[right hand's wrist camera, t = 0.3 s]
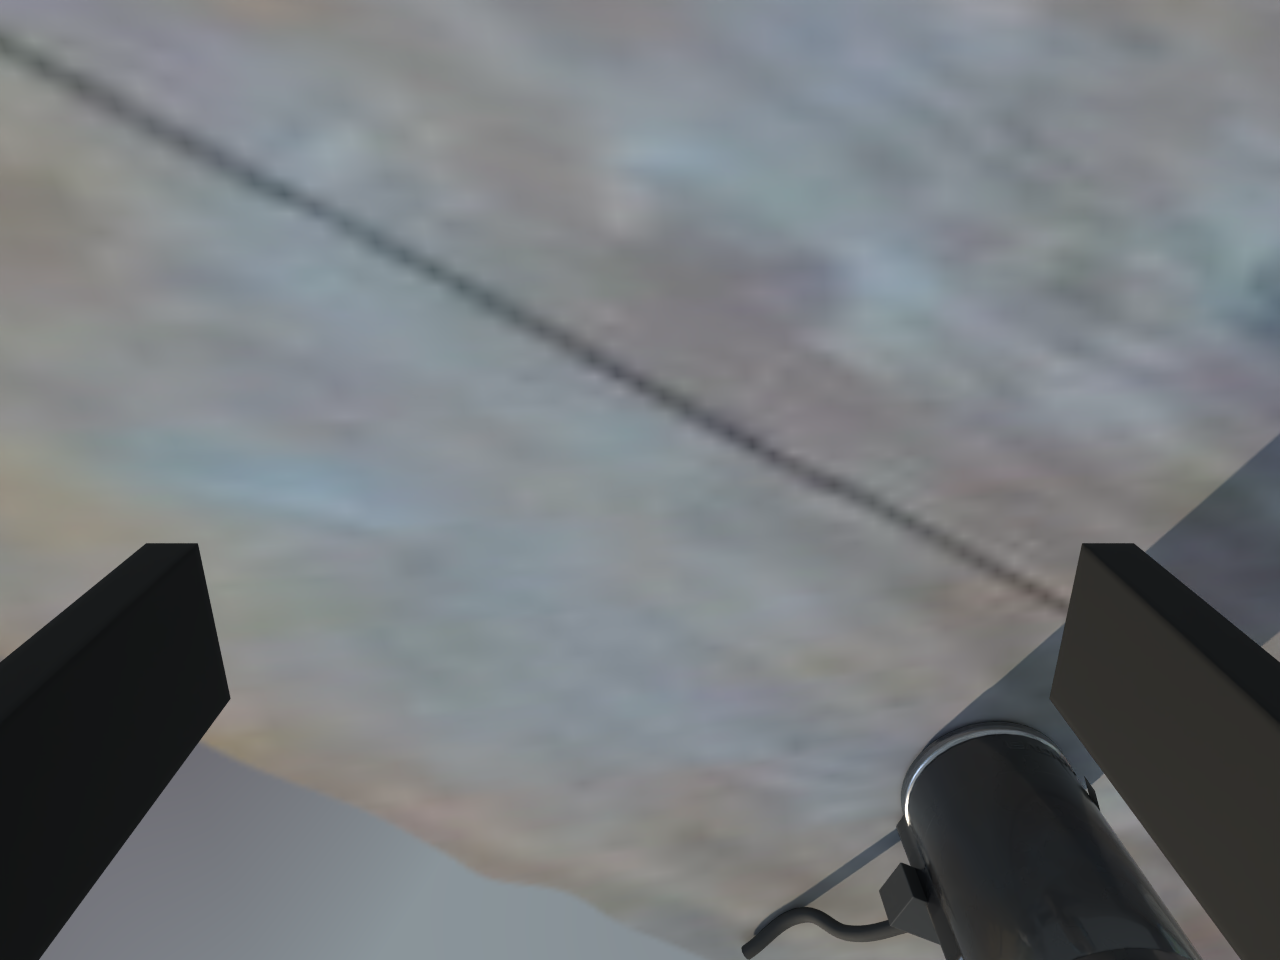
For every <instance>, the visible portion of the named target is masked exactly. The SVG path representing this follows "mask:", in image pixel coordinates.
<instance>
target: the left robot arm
mask: <svg viewBox="0 0 1280 960" xmlns="http://www.w3.org/2000/svg"><path fill="white" fill-rule="evenodd" d="M1084 777H1085V776H1084ZM1085 781H1086V785H1087V788H1088V792H1089V795H1088V793H1087V792H1086V790H1085V789H1084V787H1083V786H1082V784H1081V783H1080V781H1079V780H1078V779H1077V777H1076V774H1075V773H1074V771H1073V770H1072V768H1071V766H1070V764H1069V762H1068V761H1067V759H1066V758H1065V757H1064V755H1063V754H1062V752H1061V751H1060V749H1059V748H1058V747H1057V746H1056V744H1055V743H1054V742H1053V741H1052V740H1050V739H1049V738H1048V737H1047V736H1045V735H1044V734H1042V733H1041V732H1039V731H1037V730H1035V729H1033V728H1030V727H1027V726H1024V725H1020V724H1016V723H1010V722H984V723H977V724H973V725H968V726H965V727H962V728H959V729H957V730H954V731H952V732H950V733H948V734H946V735H944V736H942V737H940V738H939V739H937V740H936V741H934V742H933V743H932V744H930V745H929V746H928V747H927V748H925V749H924V750H923V751H922V752H921V753H920V754H919V755H918V757H917V758H916V759H915V760H914V762H913V763H912V765H911V766H910V768H909V770H908V772H907V774H906V776H905V779H904V781H903V785H902V791H901V805H902V810H903V814H904V815H903V817H902V819H901V820H900V822H899V823H898V824H897V826H896V828H897V831H898V834H899V836H900V839H901V842H902V844H903V847H904V849H905V852H906V855H907V857H908V860H909V863H910V865H911V866H909V865H906V864H904V863H900V864H899V865H898V867H897V868H896V869H895V871H894V872H893V873H892V874H891V876H890V877H889V878H888V880H887V881H886V882H885V884H884V885H883V886H882V887H881V889H880V890H879V892H880V895H881V899H882V902H883V905H884V908H885V911H886V914H887V917H888V920H886V921H883V922H879V923H875V924H870V925H862V926H852V925H844V924H842V923H840V922H838V921H836V920H835V919H833V918H832V917H830V916H829V915H827V914H826V913H824V912H822V911H820V910H817V909H814V908H810V907H801V908H796V909H793V910H790V911H787V912H785V913H783V914H782V915H780V916H778V917H777V918H776V919H774V920H773V921H772V922H771V923H769V924H768V925H767V926H766V927H765V928H764V929H763V930H762V931H761V932H759V933H758V934H757V935H756V936H755V937H754V938H753V939H751V940H750V941H749V942H748V943H746V944H745V945H743V946H742V952H743V954H744V956H745V957H746V958H747V959H749V960H750V959H751V958H753V957H754V956H755V955H757V954H758V953H759V952H760V951H762V950H763V949H764V948H765V947H766V946H767V945H768V944H769V943H771V942H772V941H773V940H774V939H775V938H776V937H777V936H778V935H780V934H781V933H782V932H784V931H785V930H786V929H788V928H790V927H792V926H794V925H797V924H800V923H805V922H810V923H814V924H816V925H818V926H819V927H821V928H822V929H824V930H825V931H826V932H828V933H829V934H831V935H833V936H835V937H837V938H839V939H842V940H846V941H852V942H870V941H877V940H882V939H886V938H889V937H893V936H897V935H900V934H904V933H910V934H913V935H916V936H918V937H921V938H924V939H926V940H929V941H932V942H934V943H937V944H940V945H941V948H942V950H943V953H944V956H945V958H946V960H1203V959H1202V958H1201V956H1200V955H1199V953H1198V952H1197V951H1196V949H1195V948H1194V946H1193V945H1192V943H1191V942H1190V940H1189V939H1188V938H1187V936H1186V935H1185V933H1184V932H1183V930H1182V929H1181V927H1180V926H1179V925H1178V923H1177V922H1176V920H1175V919H1174V917H1173V916H1172V914H1171V913H1170V912H1169V910H1168V909H1167V907H1166V906H1165V904H1164V903H1163V901H1162V900H1161V899H1160V897H1159V896H1158V894H1157V893H1156V891H1155V890H1154V888H1153V887H1152V886H1151V884H1150V883H1149V881H1148V880H1147V878H1146V877H1145V875H1144V874H1143V873H1142V871H1141V870H1140V868H1139V867H1138V865H1137V864H1136V862H1135V861H1134V860H1133V858H1132V857H1131V855H1130V854H1129V852H1128V851H1127V849H1126V848H1125V847H1124V845H1123V844H1122V842H1121V841H1120V839H1119V838H1118V836H1117V835H1116V834H1115V832H1114V831H1113V829H1112V828H1111V826H1110V825H1109V823H1108V822H1107V821H1106V819H1105V818H1104V816H1103V815H1102V813H1101V812H1100V809H1099V805H1098V801H1097V797H1096V793H1095V791H1094V789H1093V788H1092V786H1091V785H1090V783H1089V782H1088V781H1087V779H1086V778H1085Z"/></svg>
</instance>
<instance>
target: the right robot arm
mask: <svg viewBox="0 0 1280 960" xmlns="http://www.w3.org/2000/svg"><path fill="white" fill-rule="evenodd" d="M229 700H230V694H229V689H228V684H227V680H226V675H225V670H224V665H223V661H222V656H221V651H220V646H219V642H218V637H217V632H216V627H215V623H214V618H213V613H212V608H211V604H210V599H209V594H208V589H207V585H206V580H205V575H204V570H203V566H202V561H201V556H200V551H199V547H198V543H146V544H145V545H144V546H142V547H141V548H140V549H139V550H138V551H136V552H135V553H134V554H133V555H131V556H130V557H129V558H128V559H126V560H125V561H124V562H123V563H122V564H120V565H119V566H118V567H117V568H115V569H114V570H113V571H112V572H111V573H109V574H108V575H107V576H106V577H104V578H103V579H102V580H101V581H100V582H98V583H97V584H96V585H95V586H93V587H92V588H91V589H90V590H88V591H87V592H86V593H85V594H84V595H82V596H81V597H80V598H79V599H77V600H76V601H75V602H74V603H73V604H71V605H70V606H69V607H68V608H66V609H65V610H64V611H63V612H61V613H60V614H59V615H58V616H57V617H55V618H54V619H53V620H52V621H50V622H49V623H48V624H47V625H46V626H44V627H43V628H42V629H41V630H39V631H38V632H37V633H36V634H34V635H33V636H32V637H31V638H30V639H28V640H27V641H26V642H25V643H23V644H22V645H21V646H20V647H19V648H17V649H16V650H15V651H14V652H12V653H11V654H10V655H9V656H8V657H6V658H5V659H4V660H3V661H1V662H0V960H39V959H40V957H41V956H42V955H43V953H44V952H45V951H46V949H47V948H48V947H49V945H50V944H51V942H52V941H53V940H54V938H55V937H56V936H57V934H58V933H59V932H60V930H61V929H62V928H63V926H64V925H65V923H66V922H67V921H68V919H69V918H70V917H71V915H72V914H73V913H74V911H75V910H76V908H77V907H78V906H79V904H80V903H81V902H82V900H83V899H84V898H85V896H86V895H87V893H88V892H89V891H90V889H91V888H92V887H93V885H94V884H95V883H96V881H97V880H98V879H99V877H100V876H101V874H102V873H103V872H104V870H105V869H106V867H107V866H108V865H109V864H110V862H111V861H112V859H113V858H114V857H115V855H116V854H117V853H118V851H119V850H120V849H121V847H122V846H123V844H124V843H125V842H126V840H127V839H128V838H129V836H130V835H131V834H132V832H133V831H134V829H135V828H136V827H137V825H138V824H139V823H140V821H141V820H142V819H143V817H144V816H145V814H146V813H147V812H148V810H149V809H150V808H151V806H152V805H153V804H154V802H155V801H156V799H157V798H158V797H159V795H160V794H161V793H162V791H163V790H164V789H165V787H166V786H167V785H168V783H169V782H170V780H171V779H172V778H173V776H174V775H175V774H176V772H177V771H178V770H179V768H180V767H181V765H182V764H183V763H184V761H185V760H186V759H187V757H188V756H189V754H190V753H191V752H192V750H193V749H194V748H195V746H196V745H197V744H198V742H199V741H200V740H201V738H202V737H203V735H204V734H205V733H206V731H207V730H208V729H209V727H210V726H211V725H212V723H213V722H214V720H215V719H216V718H217V716H218V715H219V714H220V712H221V711H222V710H223V708H224V707H225V706H226V704H227V703H228V701H229ZM1050 700H1051V701H1052V703H1053V704H1054V706H1055V707H1056V708H1057V710H1058V711H1059V712H1060V714H1061V715H1062V716H1063V718H1064V719H1065V720H1066V722H1067V723H1068V725H1069V726H1070V727H1071V729H1072V730H1073V731H1074V733H1075V734H1076V735H1077V737H1078V738H1079V740H1080V741H1081V742H1082V744H1083V745H1084V746H1085V748H1086V749H1087V750H1088V752H1089V753H1090V755H1091V756H1092V757H1093V759H1094V760H1095V761H1096V763H1097V764H1098V765H1099V767H1100V768H1101V770H1102V771H1103V772H1104V774H1105V775H1106V776H1107V778H1108V779H1109V780H1110V782H1111V783H1112V785H1113V786H1114V787H1115V789H1116V790H1117V791H1118V793H1119V794H1120V795H1121V797H1122V798H1123V800H1124V801H1125V802H1126V804H1127V805H1128V806H1129V808H1130V809H1131V810H1132V812H1133V813H1134V814H1135V816H1136V817H1137V819H1138V820H1139V821H1140V823H1141V824H1142V825H1143V827H1144V828H1145V829H1146V831H1147V832H1148V834H1149V835H1150V836H1151V838H1152V839H1153V840H1154V842H1155V843H1156V844H1157V846H1158V847H1159V849H1160V850H1161V851H1162V853H1163V854H1164V855H1165V857H1166V858H1167V859H1168V861H1169V862H1170V864H1171V865H1172V866H1173V868H1174V869H1175V870H1176V872H1177V873H1178V874H1179V876H1180V877H1181V879H1182V880H1183V881H1184V883H1185V884H1186V885H1187V887H1188V888H1189V889H1190V891H1191V892H1192V894H1193V895H1194V896H1195V898H1196V899H1197V900H1198V902H1199V903H1200V904H1201V906H1202V907H1203V908H1204V910H1205V911H1206V913H1207V914H1208V915H1209V917H1210V918H1211V919H1212V921H1213V922H1214V923H1215V925H1216V926H1217V928H1218V929H1219V930H1220V932H1221V933H1222V934H1223V936H1224V937H1225V938H1226V940H1227V941H1228V943H1229V944H1230V945H1231V947H1232V948H1233V949H1234V951H1235V952H1236V953H1237V955H1238V956H1239V958H1240V959H1241V960H1280V662H1279V661H1277V660H1276V659H1275V658H1274V657H1272V656H1271V655H1270V654H1269V653H1268V652H1266V651H1265V650H1264V649H1263V648H1261V647H1260V646H1259V645H1258V644H1257V643H1255V642H1254V641H1253V640H1252V639H1250V638H1249V637H1248V636H1247V635H1246V634H1244V633H1243V632H1242V631H1241V630H1239V629H1238V628H1237V627H1236V626H1234V625H1233V624H1232V623H1231V622H1230V621H1228V620H1227V619H1226V618H1225V617H1223V616H1222V615H1221V614H1220V613H1219V612H1217V611H1216V610H1215V609H1214V608H1212V607H1211V606H1210V605H1209V604H1207V603H1206V602H1205V601H1204V600H1203V599H1201V598H1200V597H1199V596H1198V595H1196V594H1195V593H1194V592H1193V591H1192V590H1190V589H1189V588H1188V587H1187V586H1185V585H1184V584H1183V583H1182V582H1180V581H1179V580H1178V579H1177V578H1176V577H1174V576H1173V575H1172V574H1171V573H1169V572H1168V571H1167V570H1166V569H1165V568H1163V567H1162V566H1161V565H1160V564H1158V563H1157V562H1156V561H1155V560H1154V559H1152V558H1151V557H1150V556H1149V555H1147V554H1146V553H1145V552H1144V551H1142V550H1141V549H1140V548H1139V547H1138V546H1136V545H1135V544H1134V543H1082V547H1081V551H1080V556H1079V561H1078V566H1077V570H1076V575H1075V580H1074V585H1073V589H1072V594H1071V599H1070V604H1069V608H1068V613H1067V618H1066V623H1065V627H1064V632H1063V637H1062V642H1061V646H1060V651H1059V656H1058V661H1057V665H1056V670H1055V675H1054V680H1053V684H1052V689H1051V694H1050Z"/></svg>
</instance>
